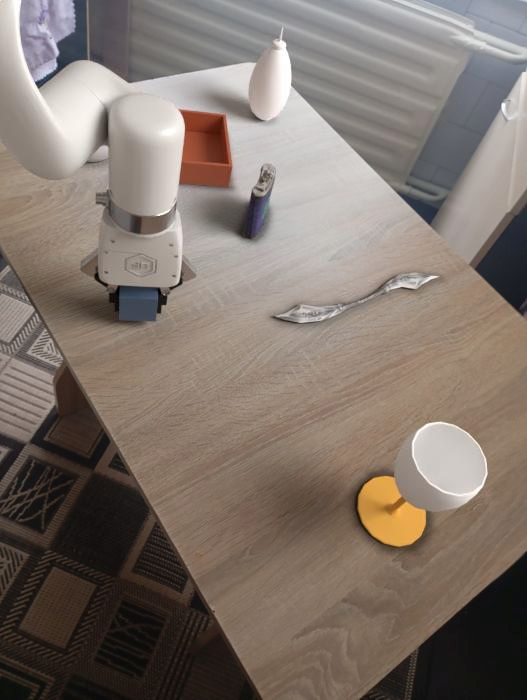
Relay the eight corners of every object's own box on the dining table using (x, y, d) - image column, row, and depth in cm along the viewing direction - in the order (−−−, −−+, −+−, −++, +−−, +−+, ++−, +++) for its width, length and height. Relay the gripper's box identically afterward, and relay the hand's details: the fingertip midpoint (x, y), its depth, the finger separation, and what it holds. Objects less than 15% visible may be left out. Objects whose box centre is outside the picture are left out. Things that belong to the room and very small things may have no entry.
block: (118, 320, 78) (119, 297, 74) (119, 292, 80) (120, 268, 76) (155, 321, 79) (158, 299, 75) (155, 294, 82) (157, 270, 78)
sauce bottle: (289, 121, 116) (312, 32, 102) (264, 133, 112) (285, 42, 98) (261, 102, 118) (280, 12, 104) (236, 113, 114) (252, 21, 100)
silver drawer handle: (272, 315, 85) (289, 339, 83) (273, 312, 85) (290, 337, 83) (423, 260, 99) (441, 280, 97) (425, 258, 99) (443, 277, 97)
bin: (159, 181, 98) (160, 160, 94) (158, 128, 106) (159, 106, 103) (228, 187, 101) (232, 166, 97) (222, 135, 109) (225, 114, 105)
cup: (380, 558, 67) (440, 513, 54) (344, 490, 71) (391, 433, 58) (439, 530, 71) (508, 482, 58) (401, 466, 75) (457, 408, 62)
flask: (253, 202, 99) (266, 151, 91) (269, 207, 100) (283, 156, 91) (240, 236, 94) (251, 185, 85) (257, 242, 94) (270, 191, 85)
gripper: (61, 222, 61) (72, 324, 75) (218, 234, 65) (199, 328, 79) (67, 176, 65) (75, 281, 79) (214, 190, 69) (197, 287, 83)
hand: (137, 304), depth 79 cm, fingers closed on block, 5 cm apart
